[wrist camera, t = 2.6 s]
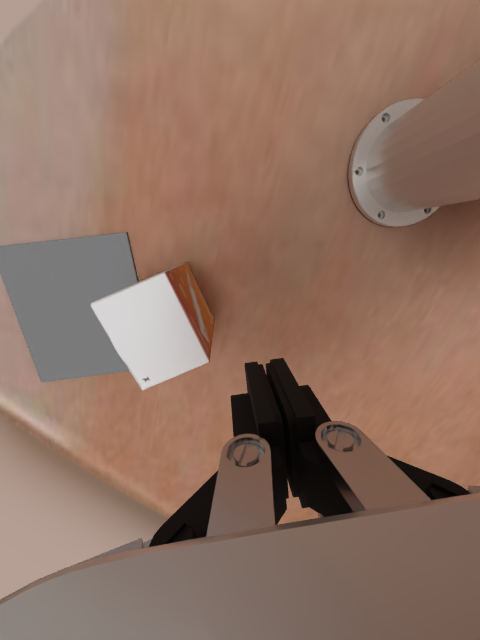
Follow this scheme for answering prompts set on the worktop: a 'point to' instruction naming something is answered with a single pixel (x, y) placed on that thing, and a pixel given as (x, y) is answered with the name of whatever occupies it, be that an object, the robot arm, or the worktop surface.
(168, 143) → the worktop surface
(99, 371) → the mat
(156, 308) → the small box
